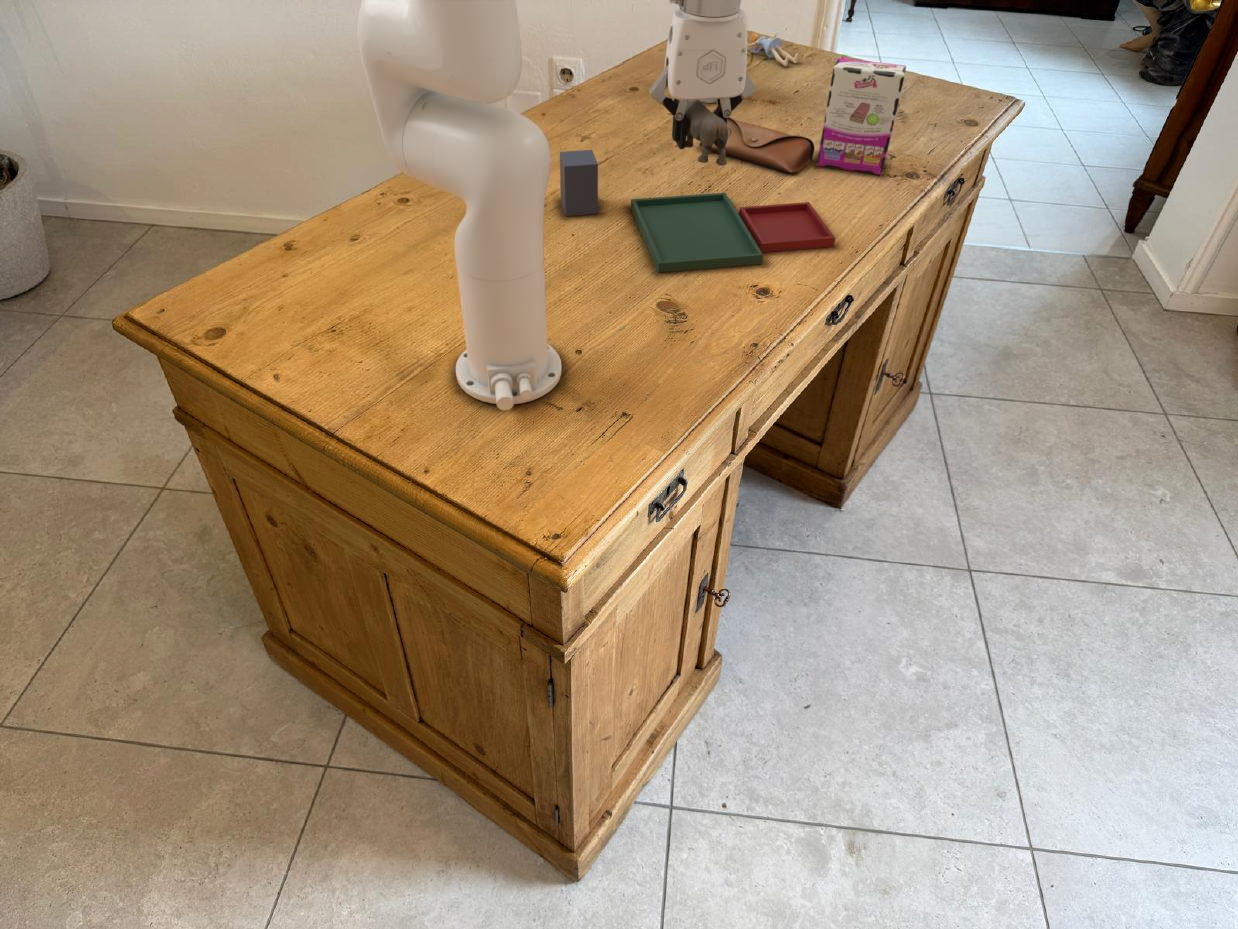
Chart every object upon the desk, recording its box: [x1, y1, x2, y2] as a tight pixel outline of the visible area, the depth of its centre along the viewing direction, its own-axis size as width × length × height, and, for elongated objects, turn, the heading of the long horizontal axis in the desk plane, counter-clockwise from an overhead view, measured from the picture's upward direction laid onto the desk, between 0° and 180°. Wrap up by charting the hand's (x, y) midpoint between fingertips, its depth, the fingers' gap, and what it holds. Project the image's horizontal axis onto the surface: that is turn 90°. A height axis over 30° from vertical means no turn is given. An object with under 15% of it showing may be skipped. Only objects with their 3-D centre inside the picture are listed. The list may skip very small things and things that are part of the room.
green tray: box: [630, 192, 764, 273], centre depth 130 cm, size 19×15×2 cm
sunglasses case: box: [701, 116, 815, 174], centre depth 151 cm, size 18×7×7 cm, turn 59°
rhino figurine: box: [685, 100, 728, 166], centre depth 119 cm, size 4×14×6 cm, turn 22°
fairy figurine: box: [747, 32, 800, 67], centre depth 186 cm, size 12×5×12 cm
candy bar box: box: [816, 57, 907, 176], centre depth 144 cm, size 11×5×16 cm, turn 73°
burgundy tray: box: [738, 201, 836, 254], centre depth 132 cm, size 11×11×2 cm
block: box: [559, 149, 599, 217], centre depth 134 cm, size 5×5×8 cm
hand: (698, 142), depth 121 cm, fingers closed on rhino figurine, 4 cm apart
